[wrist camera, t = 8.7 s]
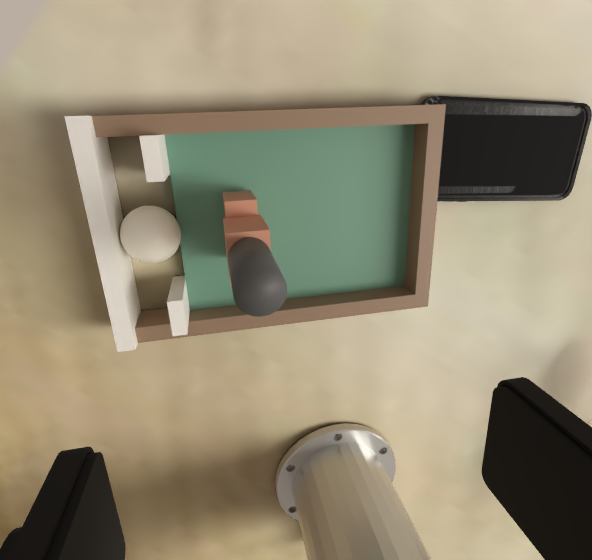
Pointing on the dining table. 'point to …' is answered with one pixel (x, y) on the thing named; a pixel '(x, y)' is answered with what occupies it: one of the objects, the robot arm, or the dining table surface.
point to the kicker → (251, 257)
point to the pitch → (273, 210)
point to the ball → (150, 234)
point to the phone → (510, 148)
